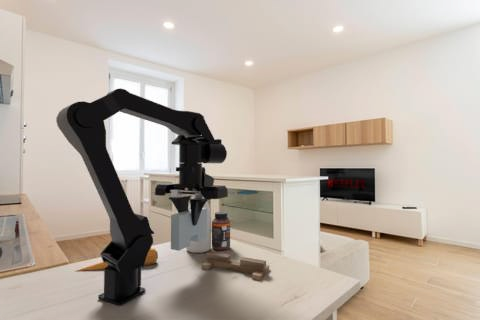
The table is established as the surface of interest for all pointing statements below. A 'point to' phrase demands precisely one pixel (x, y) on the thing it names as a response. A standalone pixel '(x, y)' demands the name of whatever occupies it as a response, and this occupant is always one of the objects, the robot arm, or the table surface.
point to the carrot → (150, 259)
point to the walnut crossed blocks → (237, 264)
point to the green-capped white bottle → (205, 243)
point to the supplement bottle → (220, 231)
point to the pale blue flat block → (187, 229)
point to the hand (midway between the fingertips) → (190, 224)
